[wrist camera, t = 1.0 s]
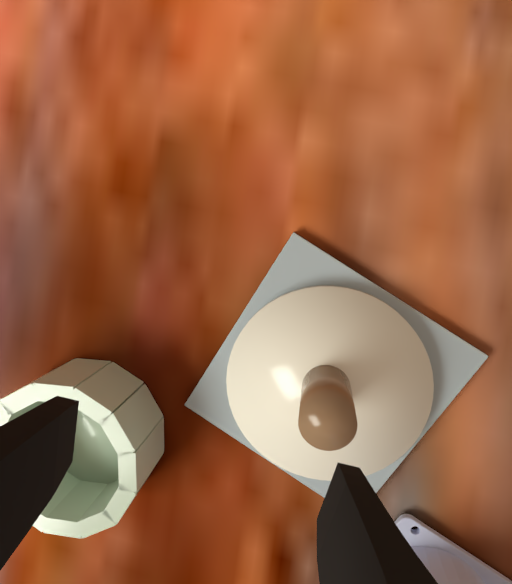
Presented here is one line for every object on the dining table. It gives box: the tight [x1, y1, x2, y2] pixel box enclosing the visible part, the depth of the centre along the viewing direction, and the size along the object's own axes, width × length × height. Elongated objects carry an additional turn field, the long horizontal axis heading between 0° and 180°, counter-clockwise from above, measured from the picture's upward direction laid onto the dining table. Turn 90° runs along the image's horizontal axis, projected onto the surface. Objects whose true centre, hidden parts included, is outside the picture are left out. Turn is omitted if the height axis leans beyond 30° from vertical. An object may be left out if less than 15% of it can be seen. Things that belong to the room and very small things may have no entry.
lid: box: [226, 285, 434, 481], centre depth 21 cm, size 11×11×5 cm
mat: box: [185, 232, 489, 498], centre depth 23 cm, size 12×12×1 cm
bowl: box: [0, 358, 164, 538], centre depth 24 cm, size 9×9×4 cm
